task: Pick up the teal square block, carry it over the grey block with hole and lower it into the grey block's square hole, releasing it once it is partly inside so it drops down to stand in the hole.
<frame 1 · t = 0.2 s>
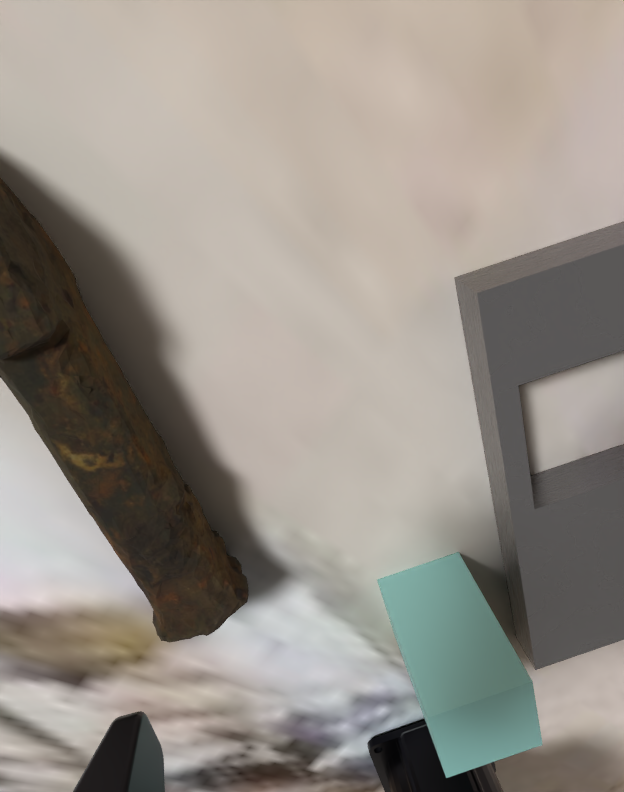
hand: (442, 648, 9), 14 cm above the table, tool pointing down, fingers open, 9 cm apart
grey block with hole: (575, 460, 26), on the table
teal block: (425, 595, 29), on the table
hand tool: (88, 393, 22), on the table
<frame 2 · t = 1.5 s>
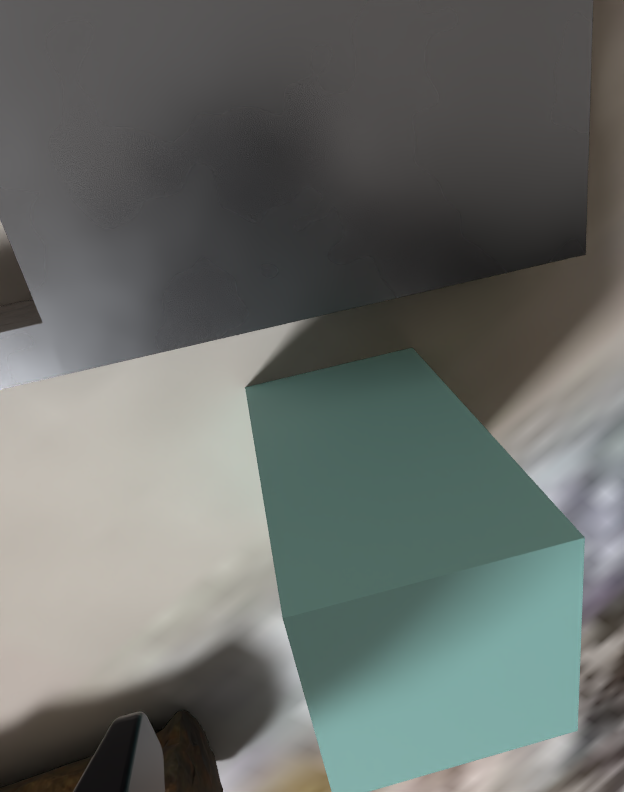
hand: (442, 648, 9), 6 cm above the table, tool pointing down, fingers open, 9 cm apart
grey block with hole: (5, 132, 11), on the table
teal block: (342, 439, 15), on the table
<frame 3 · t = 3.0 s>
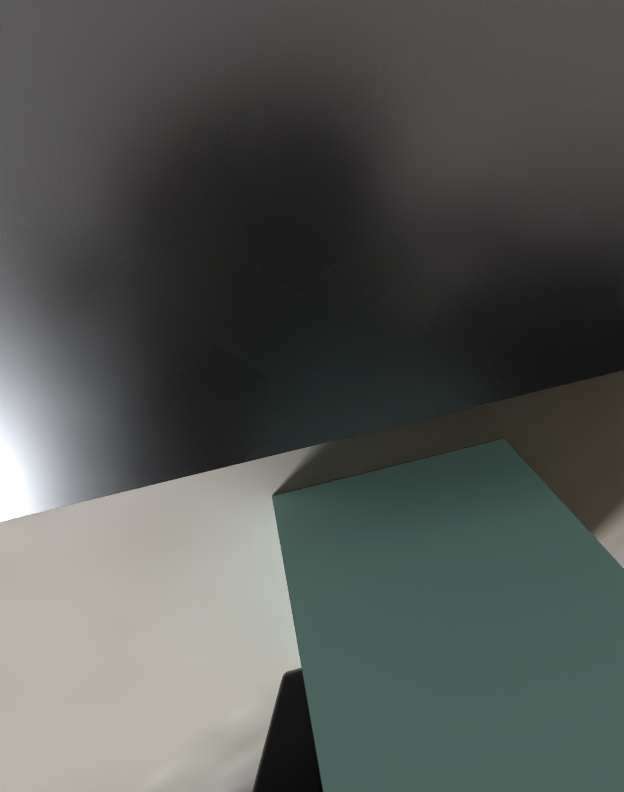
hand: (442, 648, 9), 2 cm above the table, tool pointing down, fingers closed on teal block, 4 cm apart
teal block: (402, 557, 11), on the table, touching gripper
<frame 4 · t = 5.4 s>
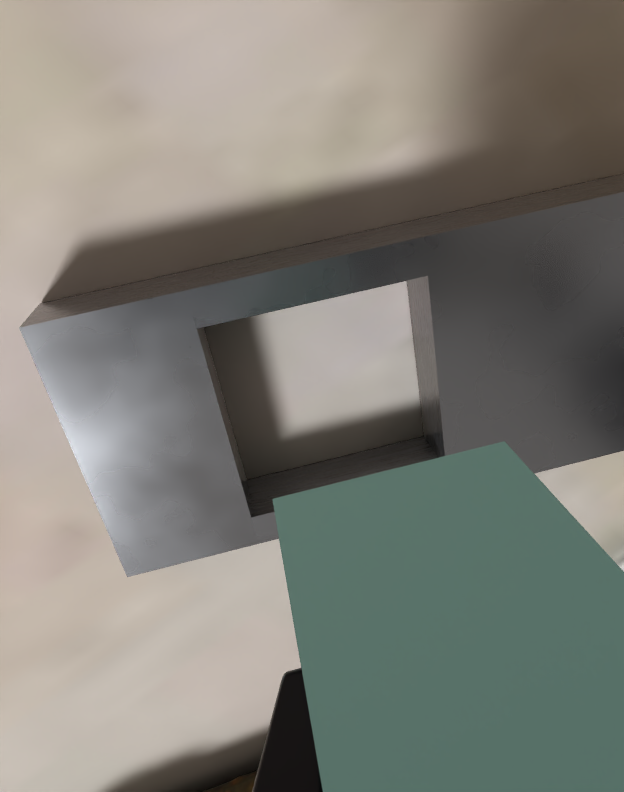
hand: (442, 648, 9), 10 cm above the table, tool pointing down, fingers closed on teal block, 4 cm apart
grey block with hole: (415, 354, 18), on the table
teal block: (403, 560, 11), point 8 cm above the table, touching gripper
hand tool: (239, 779, 26), on the table
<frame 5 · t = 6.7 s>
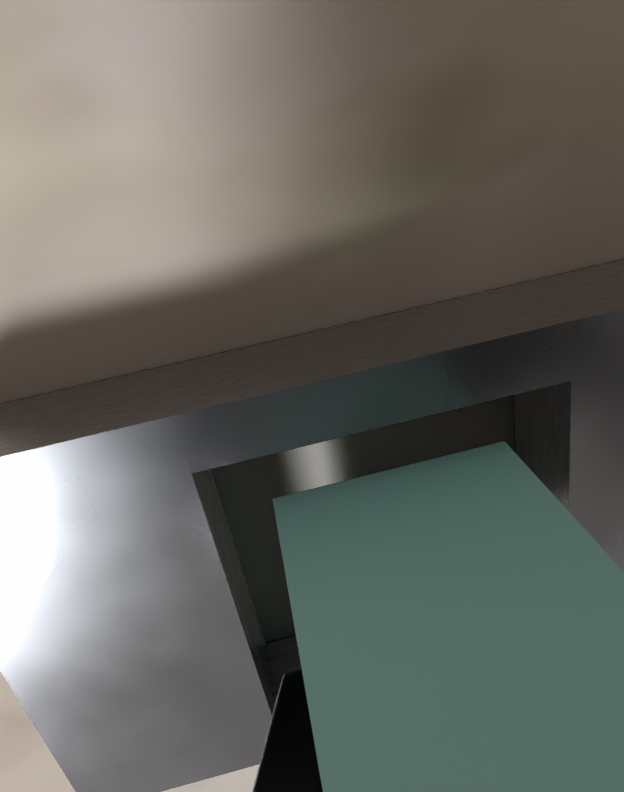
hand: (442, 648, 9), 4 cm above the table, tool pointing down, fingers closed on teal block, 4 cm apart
grey block with hole: (516, 469, 12), on the table
teal block: (403, 560, 11), point 2 cm above the table, touching gripper
when the fingers open (3 cm above the table, at t = 7.9 s): teal block drops 1 cm, resting in grey block with hole.
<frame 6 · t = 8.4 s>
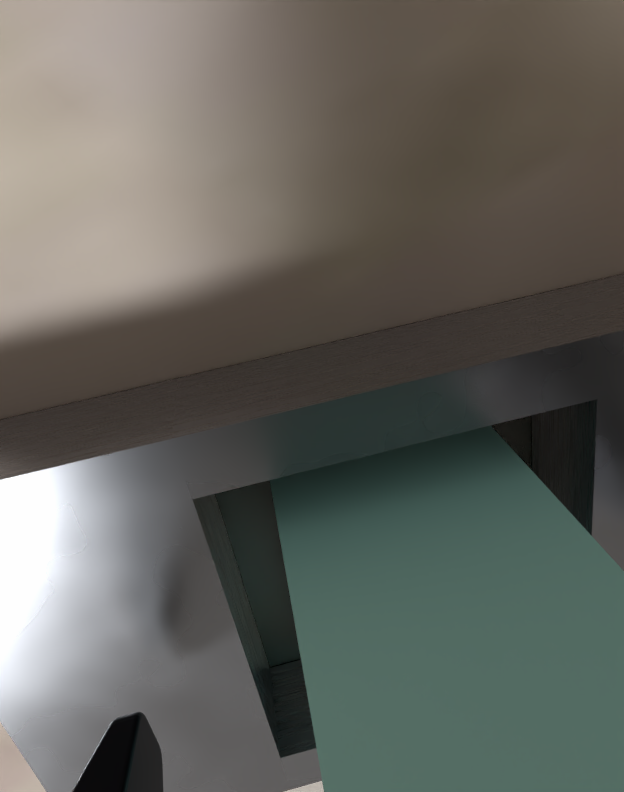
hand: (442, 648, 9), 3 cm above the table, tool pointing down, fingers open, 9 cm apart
grey block with hole: (532, 487, 12), on the table
teal block: (387, 524, 12), resting in grey block with hole
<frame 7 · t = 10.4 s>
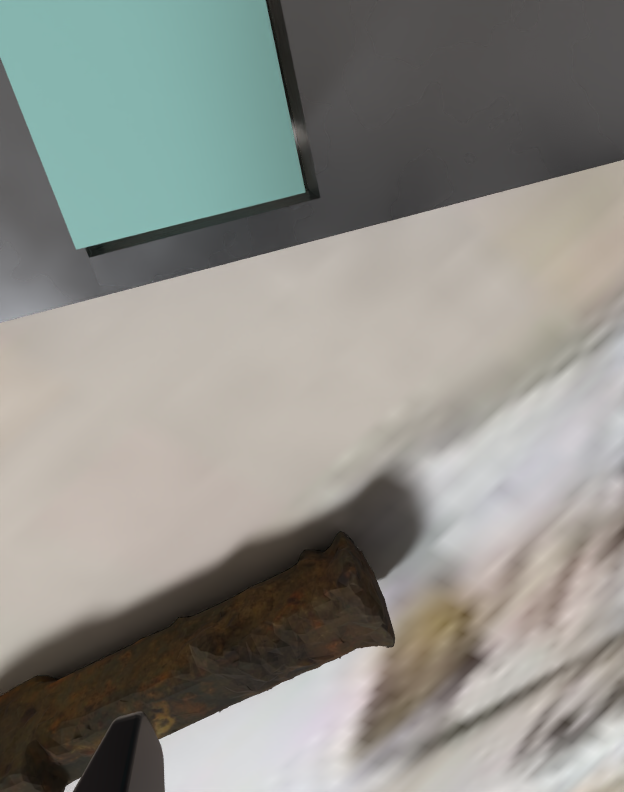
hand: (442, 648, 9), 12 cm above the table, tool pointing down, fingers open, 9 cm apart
grey block with hole: (283, 71, 16), on the table
teal block: (172, 101, 15), resting in grey block with hole
hand tool: (155, 650, 24), on the table
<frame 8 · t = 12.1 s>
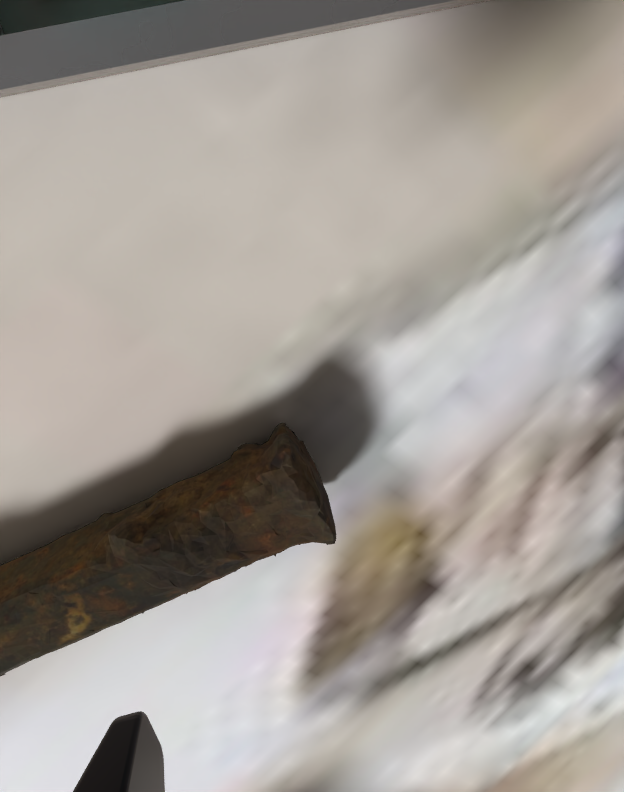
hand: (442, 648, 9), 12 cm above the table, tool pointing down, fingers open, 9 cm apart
hand tool: (83, 557, 22), on the table
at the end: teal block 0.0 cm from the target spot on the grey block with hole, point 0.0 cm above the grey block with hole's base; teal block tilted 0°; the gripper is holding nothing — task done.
